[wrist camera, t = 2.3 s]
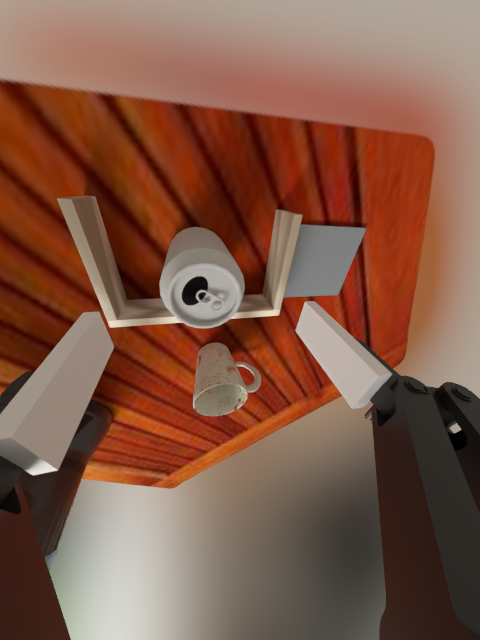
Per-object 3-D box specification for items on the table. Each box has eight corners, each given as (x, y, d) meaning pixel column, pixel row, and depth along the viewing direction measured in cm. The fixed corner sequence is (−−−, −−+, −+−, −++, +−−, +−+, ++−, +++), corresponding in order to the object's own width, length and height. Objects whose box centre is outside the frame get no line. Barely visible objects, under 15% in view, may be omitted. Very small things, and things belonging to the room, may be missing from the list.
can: (185, 211, 21) (185, 231, 12) (236, 248, 25) (267, 285, 16) (158, 265, 24) (140, 316, 15) (208, 291, 28) (219, 345, 18)
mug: (194, 335, 32) (197, 384, 24) (259, 339, 36) (279, 382, 29) (188, 368, 36) (189, 418, 29) (247, 368, 41) (262, 412, 33)
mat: (281, 295, 31) (282, 297, 31) (297, 224, 25) (299, 224, 25) (335, 293, 34) (338, 294, 34) (363, 227, 28) (366, 228, 27)
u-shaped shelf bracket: (121, 306, 26) (109, 327, 22) (83, 195, 19) (56, 198, 15) (267, 299, 31) (278, 315, 27) (283, 210, 24) (302, 214, 20)
